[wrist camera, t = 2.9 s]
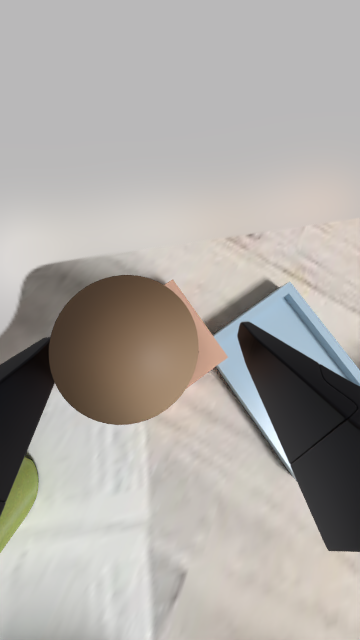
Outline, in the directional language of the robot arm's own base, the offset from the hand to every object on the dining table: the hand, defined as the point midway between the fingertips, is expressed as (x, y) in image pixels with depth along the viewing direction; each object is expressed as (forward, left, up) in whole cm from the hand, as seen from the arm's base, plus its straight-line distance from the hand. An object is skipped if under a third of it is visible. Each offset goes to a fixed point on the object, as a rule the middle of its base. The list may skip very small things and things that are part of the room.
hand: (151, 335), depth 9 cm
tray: (-9, -8, -8) cm, 14 cm away
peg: (0, 0, -7) cm, 7 cm away
